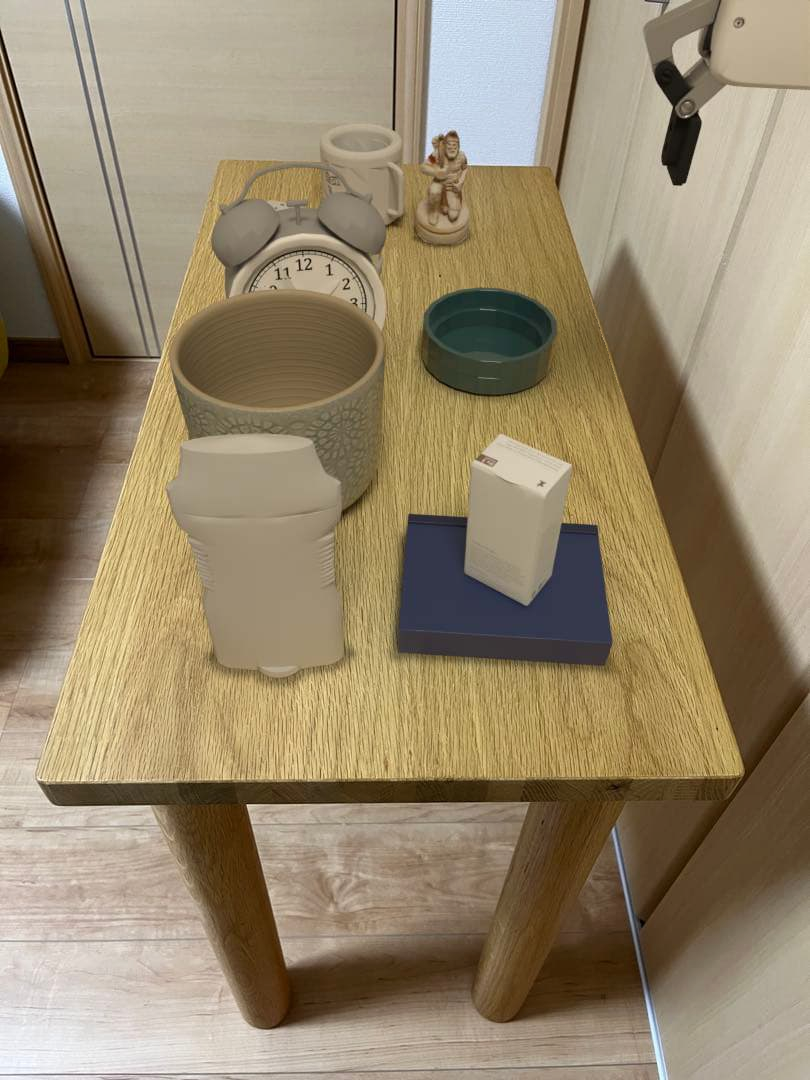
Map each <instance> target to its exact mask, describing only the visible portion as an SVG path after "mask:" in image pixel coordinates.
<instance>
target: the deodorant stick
mask: <svg viewBox="0 0 810 1080" xmlns="http://www.w3.org/2000/svg"><path fill="white" fill-rule="evenodd" d="M164 488H165V492H166V496H167V499H168V502H169V507H170V510H171V513H172V515H173V518H174V521H175V522H176V524H177V526H178V528H179V529H180V530H181V531H183V532H185V533H186V534H187V537H186V539H187V541H188V544H189V545H190V549H191V551H192V554H193V555H194V561H195V564H196V567H197V571H198V576H199V579H200V583H201V585H202V586H203V587H204V590H203V594H202V599H201V605H202V608H203V612H204V616H205V620H206V623H207V628H208V632H209V635H210V638H211V642H212V646H213V650H214V655H215V658H216V660H217V663H218V664H220V665H222V666H224V667H225V668H228V669H238V670H249V671H259V672H260V673H261V674H263V675H264V676H267V677H269V678H275V679H281V678H287V677H291V676H293V675H294V674H296V673H297V672H299V671H300V670H304V669H310V668H316V667H322V666H329V665H333V664H335V663H337V662H339V661H341V660H342V658H343V657H344V655H345V642H344V624H343V607H342V606H343V605H342V596H341V594H340V592H339V591H338V590H337V587H336V585H335V584H334V581H335V580H336V575H335V573H336V571H335V570H336V569H335V551H334V549H335V546H334V545H335V538H336V536H335V535H336V532H335V530H334V529H335V527H336V526H337V525H338V524H339V522H340V521H341V518H342V512H343V511H342V501H341V500H342V499H341V482H340V481H339V480H338V479H337V478H336V477H334V476H332V475H331V474H329V473H327V472H325V471H324V469H323V467H322V465H321V462H320V460H319V458H318V456H317V453H316V450H315V446H314V443H313V442H312V441H311V440H310V439H307V438H304V437H299V436H291V435H280V434H231V435H219V436H208V437H202V438H196V439H192V440H190V439H188V440H186V441H183V442H182V443H180V444H179V463H178V471H177V475H176V476H175V477H174V478H173V479H172V480H170V481H169V482H168V483H167V484H166V485H164ZM341 511H342V512H341Z"/></svg>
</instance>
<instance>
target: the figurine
mask: <svg viewBox="0 0 810 1080" xmlns="http://www.w3.org/2000/svg"><path fill="white" fill-rule="evenodd" d="M460 143H461V142H460V137H459V134H458V133H457V131H456V130H453V129H451V130H450V131H448V132H446V133H445V135H444V134H443V133H439V134H438V135H435V136H434V137H432V138H431V145H432V148H433V151H432V152H431V153H430V154H429V155H428V156H427V158H426V159H425V160H424V161H423V162H422V163H421V164H420V167H419V168H420V169H419V170H420V172H421V173H422V174H423V175H425V176H430V177H433V179H432V181H431V183H430V184H429V185H428V187H427V191H426V192H427V196H426V197H423V198H422V199H421V200H420V201H419V203H418V205H417V206H416V211H415V223H414V227H415V229H414V230H415V231H416V233H417V236H418V237H419V238H420V240H421V241H423V242H425V243H427V244H431V245H432V244H433V245H435V246H437V245H438V246H439V245H440V246H454V245H457V244H459V243H462V242H463V241H464V240H466V239H467V238H468V233H469V224H470V210H469V207H468V205H467V203H465V201H463V192H462V190H463V187H464V184H465V182H466V179H467V176H468V173H469V171H470V170H469V169H470V168H469V165H468V164H469V163H468V158H467V156H466V153H465V152H464V151H462V150H461V149H460V148H461V145H460Z"/></svg>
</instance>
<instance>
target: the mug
mask: <svg viewBox="0 0 810 1080" xmlns="http://www.w3.org/2000/svg"><path fill="white" fill-rule="evenodd" d="M403 145H404V143H403V139H402V138H401V135H399V133H398V132H396V131H395V130H393V129H391V128H389V127H387V126H384V125H379V124H373V123H348V124H342V125H338V126H335V127H332V128H330V129H328V130H326V131H325V132H324V133H323V134H322V135H321V138H320V139H319V156H320V164H324V165H328V166H331V167H333V168H335V169H336V170H337V171H338V172H339V173H340V174H341V175H343V177H344V179H345V181H346V182H347V184H348V185H349V186H350V187H351V188H352V189H353V190H355V191H357V192H358V193H360V194H362V195H364V196H365V195H366V194H368V193H372V195H373V196H372V198H373V199H372V201H371V202H370V203H371V204H372V205H373V206H374V207H375V208H376V209H377V210H378V212H379V213H380V215H381V217H382V218H383V221H384V223H385V226H388V225H391V224H392V223H394V222H395V221H396V220H397V219H398V218H400V217H402V216H403V215H404V214H405V213H404V212H405V172H404V171H403V170H402V161H403V152H404V151H403V149H404V147H403ZM320 170H321V171H320V172H321V189H322V200H323V199H324V198H325V197H327V196H328V195H330V194H333V193H339V192H348V193H350V192H349V191H348V190H347V189H346V188H345V186H344V185H343V183H342V182H341V180H340V179H339V178H338V177H336V176H335V175H334V174H333V173H332V172H330V171H326V170H323V169H320Z"/></svg>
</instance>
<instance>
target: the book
mask: <svg viewBox="0 0 810 1080" xmlns="http://www.w3.org/2000/svg"><path fill="white" fill-rule="evenodd" d="M467 520H468V516H455V515H454V516H453V515H436V514H422V513H421V514H419V513H408V514H407V525H406V536H405V537H406V538H405V549H404V561H403V572H402V583H401V596H400V607H399V619H398V620H399V621H398V630H397V631H398V633H397V634H398V635H397V636H398V637H397V653H401V654H415V655H416V654H417V655H432V656H445V657H446V656H449V657H463V658H479V659H491V660H493V659H494V660H510V661H525V662H539V663H555V664H556V663H557V664H569V665H570V664H571V665H573V664H574V665H586V666H587V665H588V666H601V667H602V666H603V667H604V666H605V665H606V663H607V660H608V658H609V654H610V653H611V652H610V651H611V649H612V646H613V637H612V629H611V627H612V626H611V620H610V613H609V605H608V599H607V598H608V597H607V591H606V584H605V576H604V567H603V561H602V553H601V545H600V536H599V535H600V534H599V533H600V532H599V526H598V524H589V523H572V522H562V523H561V528H560V534H559V539H558V544H557V549H556V554H555V559H554V564H553V570H552V575H551V577H550V578H549V579H548V581H547V582H546V583H545V585H544V586H543V587H542V588H541V590H540V591H539V592H538V594H537V595H536V596H535V597H534V599H533V600H532V601H531V602H530V604H529V605H528V606H525V605H523V604H521V603H519V602H518V601H516V600H514V599H512V598H510V597H508V596H506V595H504V594H503V593H501V592H499V591H497V590H495V589H493V588H491V587H489V586H488V585H486V584H484V583H482V582H480V581H478V580H476V579H474V578H472V577H470V576H469V575H467V574H465V573H464V564H465V551H466V533H467Z"/></svg>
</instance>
